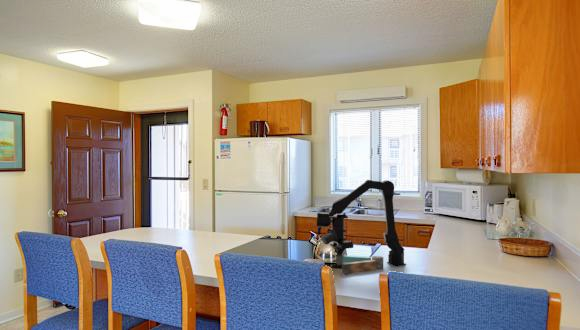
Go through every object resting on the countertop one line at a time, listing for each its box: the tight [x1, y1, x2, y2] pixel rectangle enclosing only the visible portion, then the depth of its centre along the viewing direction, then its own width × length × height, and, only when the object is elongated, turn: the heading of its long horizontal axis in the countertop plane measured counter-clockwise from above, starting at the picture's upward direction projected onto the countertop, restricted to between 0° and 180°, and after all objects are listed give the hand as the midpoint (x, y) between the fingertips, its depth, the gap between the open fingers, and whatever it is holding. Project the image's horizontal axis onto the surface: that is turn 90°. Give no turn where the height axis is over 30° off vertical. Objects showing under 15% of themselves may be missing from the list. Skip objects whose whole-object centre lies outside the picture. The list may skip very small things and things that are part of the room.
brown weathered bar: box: [335, 254, 372, 266], centre depth 177 cm, size 16×3×4 cm, turn 77°
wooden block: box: [341, 255, 384, 276], centre depth 169 cm, size 22×6×5 cm, turn 112°
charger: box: [303, 258, 325, 264], centre depth 164 cm, size 5×9×15 cm
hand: (338, 259), depth 182 cm, fingers closed
